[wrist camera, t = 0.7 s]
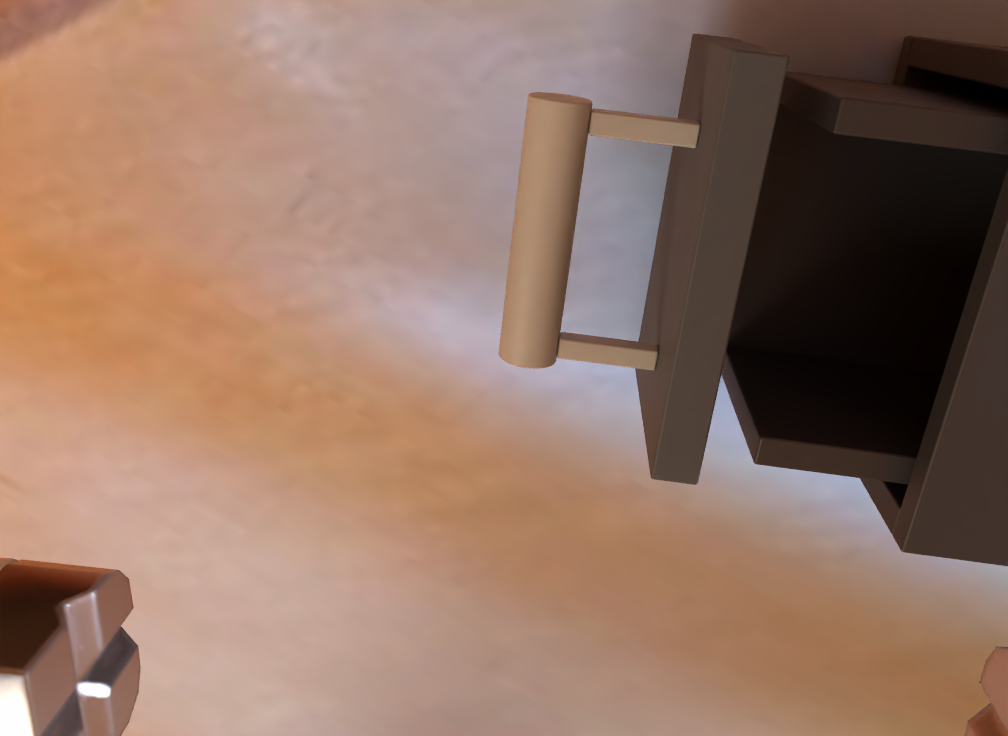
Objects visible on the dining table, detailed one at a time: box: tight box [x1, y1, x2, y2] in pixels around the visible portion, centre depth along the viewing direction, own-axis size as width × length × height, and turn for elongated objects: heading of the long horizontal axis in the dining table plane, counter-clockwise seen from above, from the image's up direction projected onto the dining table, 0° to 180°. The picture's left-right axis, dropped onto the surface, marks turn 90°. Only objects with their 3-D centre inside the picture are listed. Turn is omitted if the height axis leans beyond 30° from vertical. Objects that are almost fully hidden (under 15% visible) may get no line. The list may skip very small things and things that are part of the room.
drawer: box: [499, 34, 1008, 485], centre depth 25 cm, size 18×10×8 cm, turn 84°
